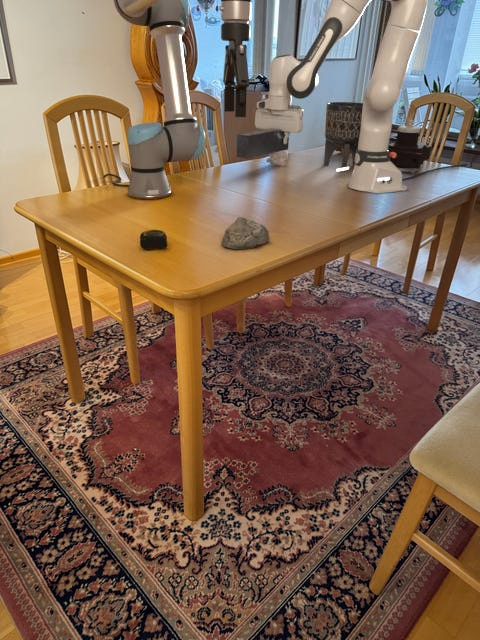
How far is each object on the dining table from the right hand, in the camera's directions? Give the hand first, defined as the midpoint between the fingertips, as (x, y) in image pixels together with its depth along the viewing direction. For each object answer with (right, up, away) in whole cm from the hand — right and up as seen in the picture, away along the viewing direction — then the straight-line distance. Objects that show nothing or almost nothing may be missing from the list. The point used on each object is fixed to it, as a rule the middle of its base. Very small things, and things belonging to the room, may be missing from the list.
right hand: (277, 142), depth 179 cm
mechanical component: (+62, 0, +31) cm, 69 cm away
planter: (+33, +1, +32) cm, 46 cm away
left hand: (-16, -13, -53) cm, 57 cm away
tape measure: (-37, -51, -61) cm, 88 cm away
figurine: (+3, +2, +33) cm, 33 cm away
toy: (+42, +19, +63) cm, 78 cm away
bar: (-6, -6, -5) cm, 10 cm away
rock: (-13, -50, -57) cm, 77 cm away
